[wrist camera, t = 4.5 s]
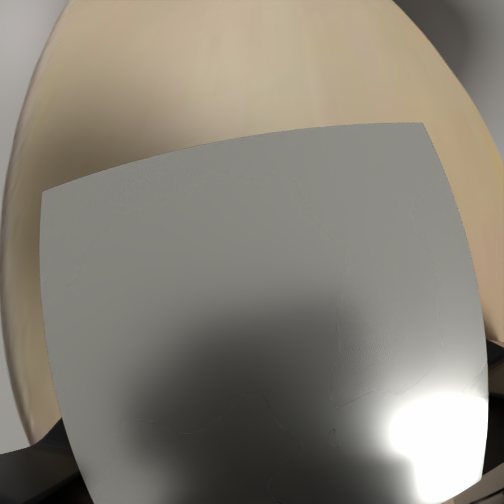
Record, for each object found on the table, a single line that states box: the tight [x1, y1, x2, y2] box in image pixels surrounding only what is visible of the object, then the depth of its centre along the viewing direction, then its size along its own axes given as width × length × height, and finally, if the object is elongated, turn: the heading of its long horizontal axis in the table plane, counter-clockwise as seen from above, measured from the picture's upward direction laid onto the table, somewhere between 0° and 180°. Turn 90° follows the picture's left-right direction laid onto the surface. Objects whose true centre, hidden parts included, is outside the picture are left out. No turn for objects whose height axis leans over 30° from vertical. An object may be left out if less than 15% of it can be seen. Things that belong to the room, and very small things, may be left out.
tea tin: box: [39, 123, 488, 504], centre depth 9 cm, size 5×5×13 cm
